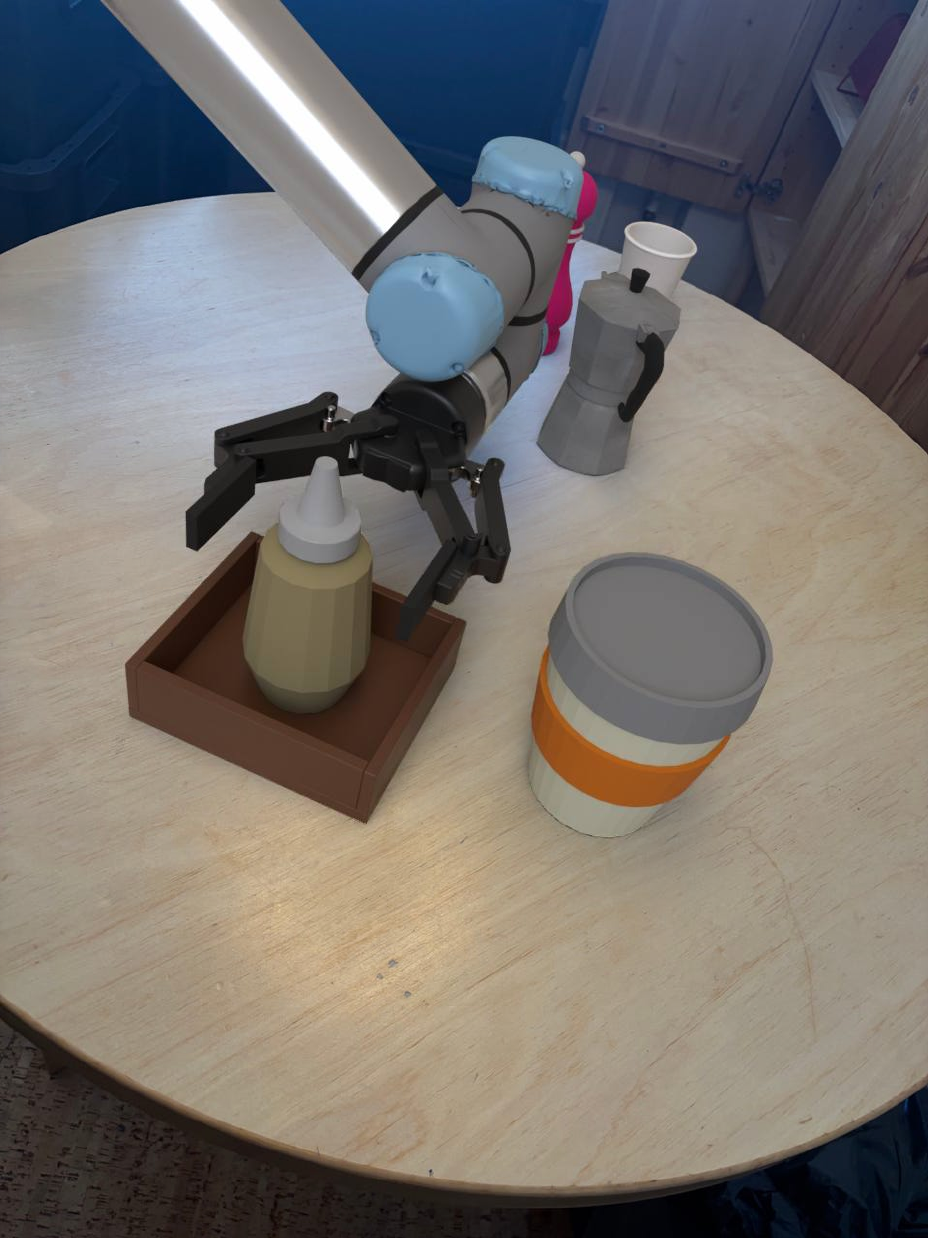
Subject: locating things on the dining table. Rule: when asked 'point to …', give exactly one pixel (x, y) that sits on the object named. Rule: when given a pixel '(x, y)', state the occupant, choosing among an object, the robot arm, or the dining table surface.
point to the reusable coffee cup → (640, 688)
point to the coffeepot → (608, 371)
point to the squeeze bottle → (311, 598)
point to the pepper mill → (562, 289)
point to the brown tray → (278, 739)
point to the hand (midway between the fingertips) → (295, 577)
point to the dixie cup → (657, 254)
